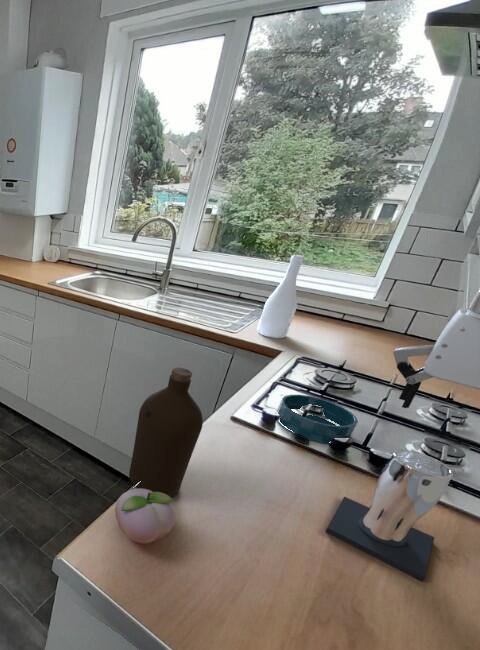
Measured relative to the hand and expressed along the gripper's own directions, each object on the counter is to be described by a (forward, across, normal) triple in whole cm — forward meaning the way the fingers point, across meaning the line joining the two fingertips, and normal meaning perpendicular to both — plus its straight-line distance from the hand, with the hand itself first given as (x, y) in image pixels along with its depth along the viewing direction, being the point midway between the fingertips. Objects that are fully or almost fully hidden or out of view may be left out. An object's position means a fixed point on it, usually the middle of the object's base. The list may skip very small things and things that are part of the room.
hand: (451, 418), depth 60 cm
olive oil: (+24, +32, +19) cm, 44 cm away
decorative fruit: (+24, +27, +34) cm, 49 cm away
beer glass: (+23, 0, +1) cm, 23 cm away
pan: (+24, +18, -30) cm, 43 cm away
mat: (+24, 0, +1) cm, 24 cm away
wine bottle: (+25, +45, -94) cm, 108 cm away
